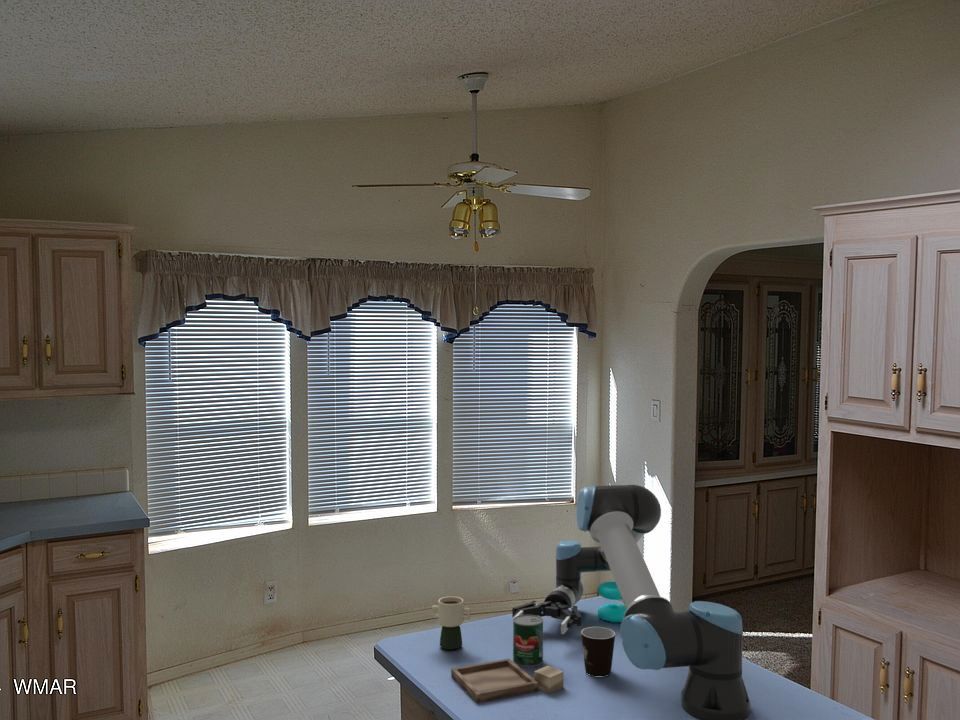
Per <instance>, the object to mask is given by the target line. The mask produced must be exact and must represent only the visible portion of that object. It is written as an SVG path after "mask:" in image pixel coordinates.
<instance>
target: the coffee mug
mask: <svg viewBox="0 0 960 720" xmlns="http://www.w3.org/2000/svg"><path fill="white" fill-rule="evenodd" d="M580 635H581V644H582V653H583V661H584V662H583V663H584V672H585V671H586V672H585V674H587V673H588V674H590V675H593V676H606V675H609V674H610V673H611V672H612V665H613V657H614V649H615V641H616V632H615V631H614V630H613V629H610V628H608V627H603V626H590V627H585V628H583V629H581V630H580ZM588 674H587V675H588ZM590 675H589V676H590ZM610 675H611V674H610ZM610 675H609V676H610ZM593 676H592V677H593ZM606 677H607V676H606Z"/></svg>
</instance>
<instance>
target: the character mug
mask: <svg viewBox="0 0 960 720" xmlns="http://www.w3.org/2000/svg"><path fill="white" fill-rule="evenodd" d="M464 603H465V600H464V599H463V598H462V597H460V596H452V595H451V596H443V597H440V598H439V599H438V601H437V605H435V604H434V605H432V606H431V617H433V618H437V621H438V624H439V625H440V626H442V627H441V631H440V637H439V646H440V647H441V648H442V649H445V650H456V649H458V648H460V647H462V646H463V637H462V629H461V626H462V624H464V620H465V621H469V620H471V608H470V607H464V605H465V604H464ZM436 610H437V611H438V612H437V613H436ZM465 612H466V615H465Z"/></svg>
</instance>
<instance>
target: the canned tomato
mask: <svg viewBox="0 0 960 720" xmlns="http://www.w3.org/2000/svg"><path fill="white" fill-rule="evenodd" d="M512 621H513V622H512V629H513V630H512V634H513V635H512V638H513V639H512V647H513V649H512V656H513V657H512V661H513V662H514V663H515V664H516V665H517V666H519V667H523V668H533V667H534V668H535V666H536V667H538V666H541V665H542V664H544V663H543V662H544V618H543V617H540V616H536V615H520V616H517V617H515V618H514V619H513V618H512Z"/></svg>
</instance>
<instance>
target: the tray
mask: <svg viewBox="0 0 960 720" xmlns="http://www.w3.org/2000/svg"><path fill="white" fill-rule="evenodd" d="M450 669H451V673H450V675H451V678H452V679H453V680H454V681H455V682H456V683H457V684H458V685H459V686H460V687H461V689H463V690H464V692H466V694H467V695H468V696H469V697H470V698H471V699H473V701H474V702H475V703H476V704H478V703H479V704H480V703H484V702H488V701H493V700H498V699H503V698H504V699H505V698H508V697H513V696H520V695H524V694H530V693H534V692H538V691H539V689H538V682H537V681H535V680H534V677H532V676H530V675H529V674H528V672H526V671H524V669H522V668H521V666H518V665H516V664H515V663H514V662H513V660H511V659H510V658H506V659H499V660H493V661H487V662H482V663H477V664H475V663H474V664H470V665H465V666H459V667H453V668H450Z"/></svg>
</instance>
